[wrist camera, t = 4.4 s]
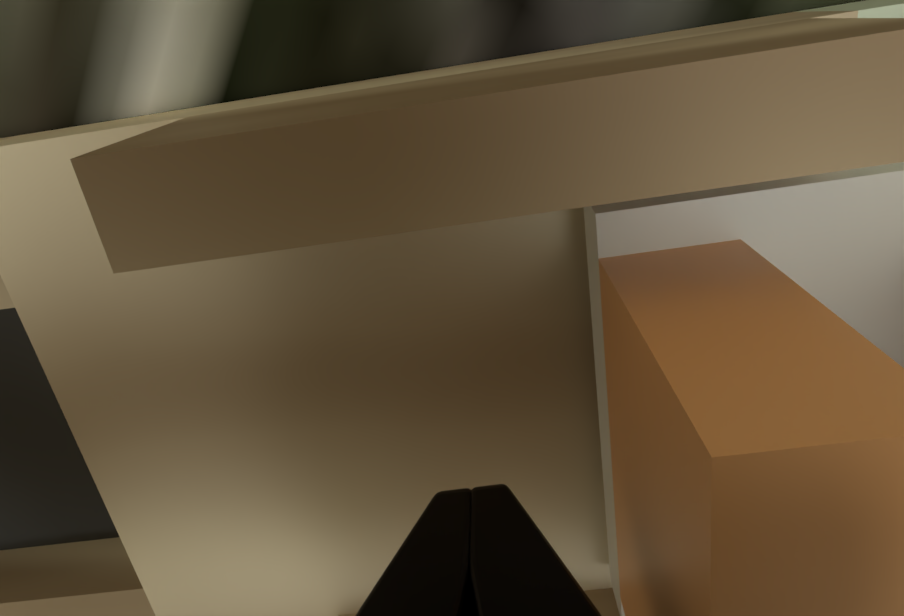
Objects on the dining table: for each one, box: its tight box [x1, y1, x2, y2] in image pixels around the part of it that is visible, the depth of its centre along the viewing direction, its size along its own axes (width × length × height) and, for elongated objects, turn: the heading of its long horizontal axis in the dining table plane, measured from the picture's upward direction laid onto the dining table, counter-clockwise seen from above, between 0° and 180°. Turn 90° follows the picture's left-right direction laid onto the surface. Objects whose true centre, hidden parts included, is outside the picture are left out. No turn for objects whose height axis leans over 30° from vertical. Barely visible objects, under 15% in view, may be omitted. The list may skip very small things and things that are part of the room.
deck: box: [0, 0, 904, 616], centre depth 9 cm, size 9×24×4 cm, turn 99°
